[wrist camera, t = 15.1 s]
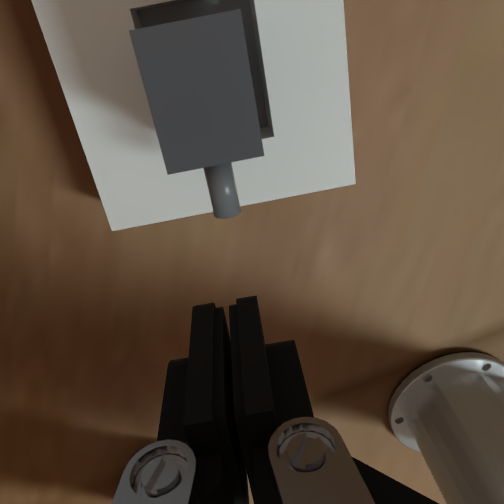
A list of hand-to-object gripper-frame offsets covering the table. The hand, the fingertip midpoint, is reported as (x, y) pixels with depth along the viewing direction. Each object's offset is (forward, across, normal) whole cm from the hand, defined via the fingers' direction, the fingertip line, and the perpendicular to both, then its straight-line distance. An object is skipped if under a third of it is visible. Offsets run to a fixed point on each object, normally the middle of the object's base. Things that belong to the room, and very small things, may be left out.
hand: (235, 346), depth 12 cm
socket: (+22, 0, -5) cm, 22 cm away
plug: (+21, 0, -4) cm, 21 cm away
